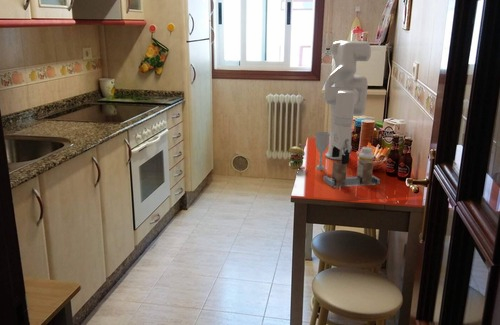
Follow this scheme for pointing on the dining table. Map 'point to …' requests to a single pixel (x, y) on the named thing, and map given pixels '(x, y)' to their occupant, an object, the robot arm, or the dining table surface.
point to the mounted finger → (365, 170)
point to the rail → (351, 181)
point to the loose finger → (339, 172)
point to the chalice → (321, 146)
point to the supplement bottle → (366, 154)
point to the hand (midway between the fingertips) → (340, 160)
